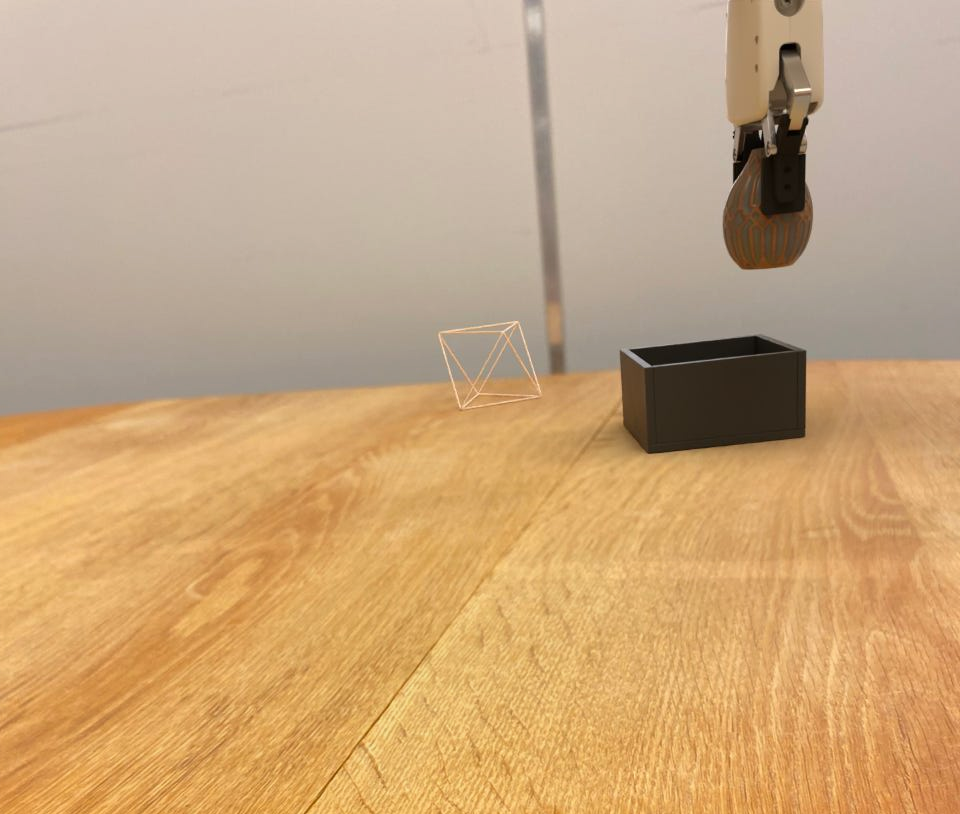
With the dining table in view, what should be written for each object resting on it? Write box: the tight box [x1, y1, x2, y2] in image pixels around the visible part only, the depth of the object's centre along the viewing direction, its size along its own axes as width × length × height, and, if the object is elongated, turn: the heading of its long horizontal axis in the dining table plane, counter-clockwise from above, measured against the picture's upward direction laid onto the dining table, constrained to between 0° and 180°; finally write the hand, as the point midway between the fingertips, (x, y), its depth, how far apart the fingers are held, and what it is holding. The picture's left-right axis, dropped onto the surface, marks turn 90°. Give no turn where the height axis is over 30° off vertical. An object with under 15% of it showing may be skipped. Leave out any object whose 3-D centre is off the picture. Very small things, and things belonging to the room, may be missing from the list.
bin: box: [619, 333, 807, 454], centre depth 103 cm, size 15×15×8 cm
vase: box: [722, 148, 814, 271], centre depth 84 cm, size 7×7×9 cm
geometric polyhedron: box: [437, 320, 543, 411], centre depth 133 cm, size 12×11×9 cm
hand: (767, 211), depth 84 cm, fingers closed on vase, 6 cm apart
